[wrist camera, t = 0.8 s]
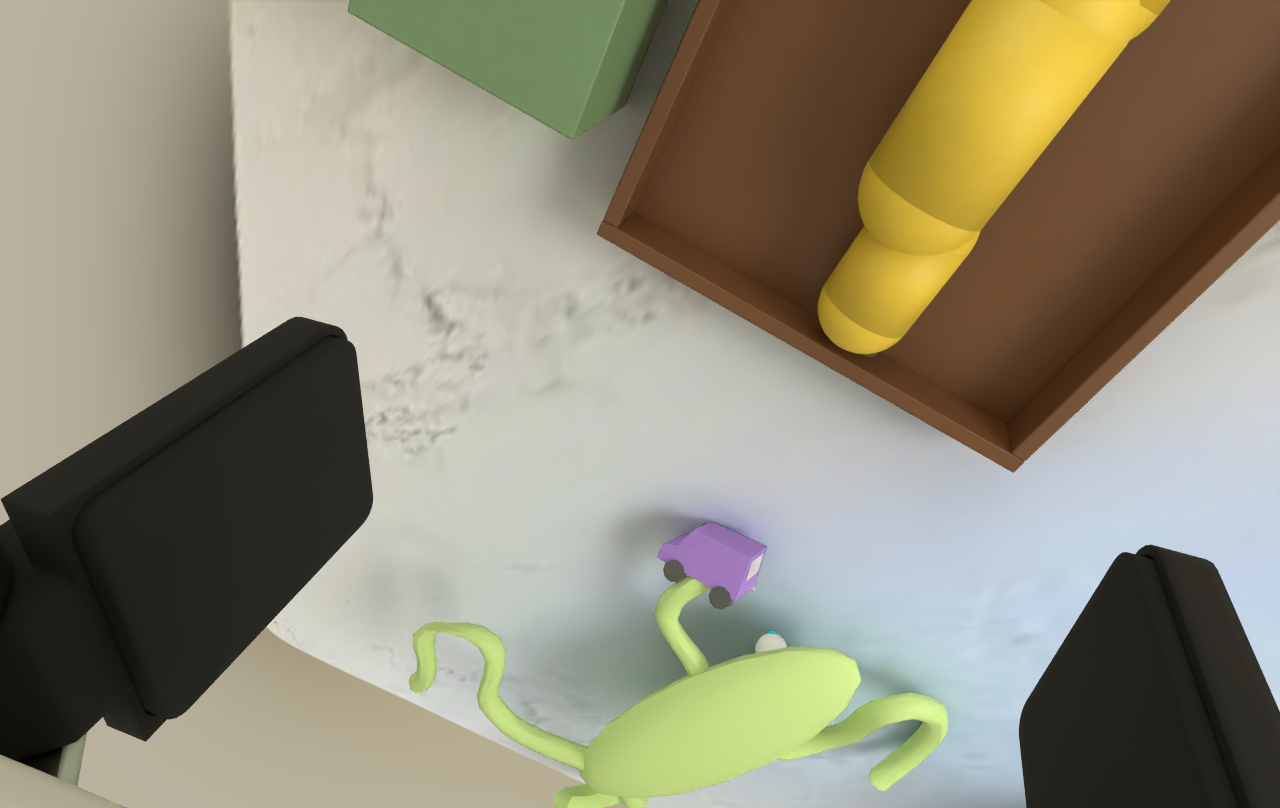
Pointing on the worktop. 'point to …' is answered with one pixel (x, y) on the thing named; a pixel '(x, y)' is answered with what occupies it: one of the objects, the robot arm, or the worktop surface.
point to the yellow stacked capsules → (966, 152)
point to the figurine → (706, 697)
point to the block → (531, 49)
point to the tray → (1012, 238)
